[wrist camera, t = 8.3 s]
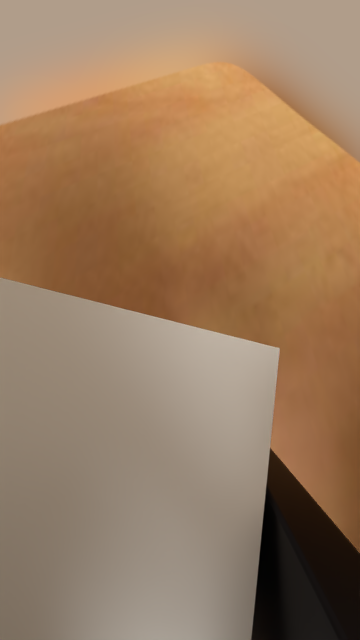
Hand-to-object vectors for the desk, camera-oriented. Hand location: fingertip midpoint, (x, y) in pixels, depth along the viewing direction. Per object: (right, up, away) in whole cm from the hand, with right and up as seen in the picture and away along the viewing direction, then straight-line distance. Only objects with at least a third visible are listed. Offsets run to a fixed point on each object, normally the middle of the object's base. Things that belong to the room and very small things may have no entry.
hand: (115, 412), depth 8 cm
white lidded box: (-1, -4, +5) cm, 7 cm away
